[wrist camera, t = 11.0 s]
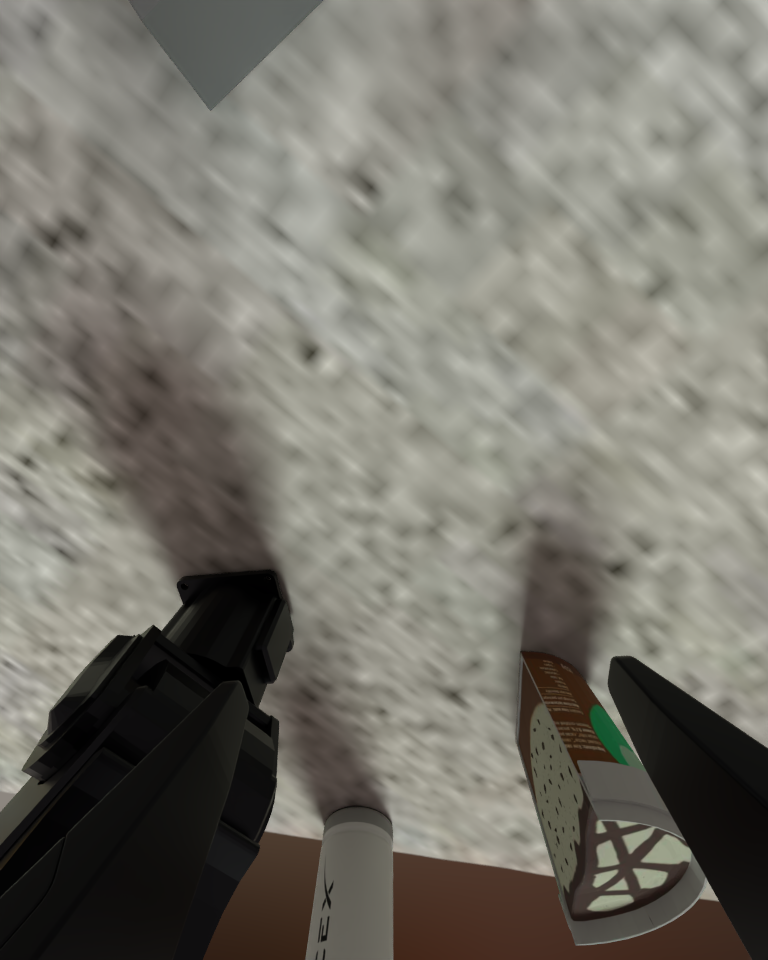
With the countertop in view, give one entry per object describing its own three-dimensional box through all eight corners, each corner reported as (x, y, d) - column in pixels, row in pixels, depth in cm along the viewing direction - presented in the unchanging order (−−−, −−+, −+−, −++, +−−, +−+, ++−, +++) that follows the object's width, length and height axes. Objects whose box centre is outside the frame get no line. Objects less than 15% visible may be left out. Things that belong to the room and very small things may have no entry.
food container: (593, 750, 28) (692, 948, 19) (515, 754, 29) (574, 950, 19) (612, 629, 24) (752, 807, 15) (520, 634, 25) (600, 812, 15)
